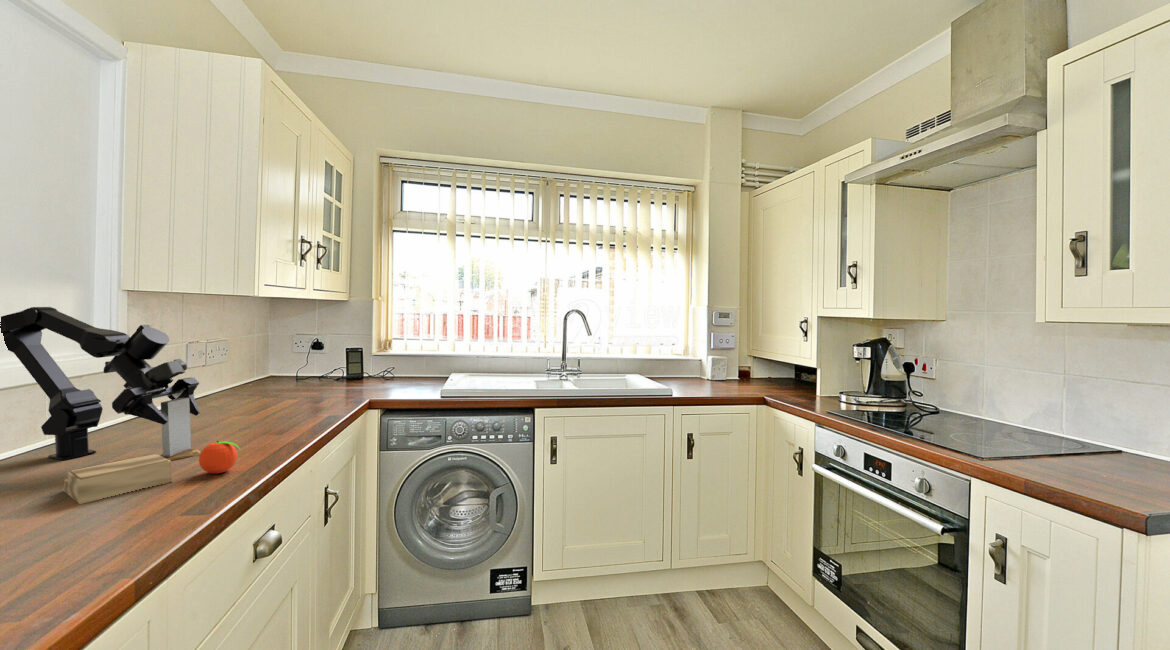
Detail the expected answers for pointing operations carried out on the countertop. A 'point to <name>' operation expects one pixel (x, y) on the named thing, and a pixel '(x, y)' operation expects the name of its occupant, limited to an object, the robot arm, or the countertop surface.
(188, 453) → the shard
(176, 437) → the cover plate
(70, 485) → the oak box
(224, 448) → the clementine
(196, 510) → the countertop surface
